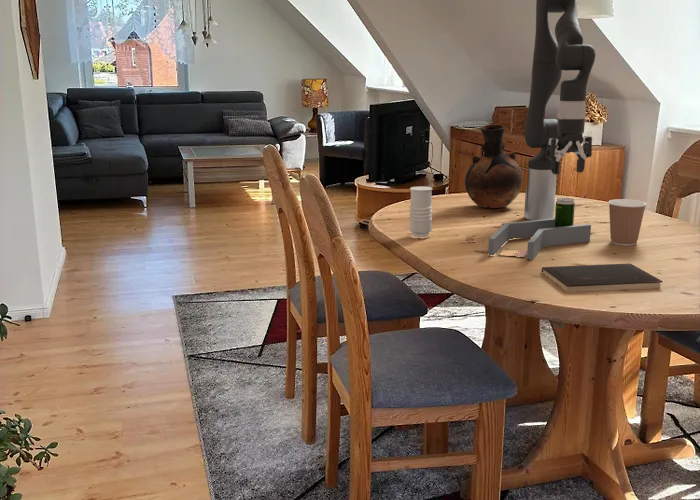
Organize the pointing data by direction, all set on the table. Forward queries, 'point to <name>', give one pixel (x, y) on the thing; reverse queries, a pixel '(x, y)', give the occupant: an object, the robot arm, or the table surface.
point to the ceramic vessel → (493, 172)
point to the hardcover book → (601, 277)
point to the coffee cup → (625, 220)
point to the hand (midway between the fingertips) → (567, 173)
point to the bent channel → (539, 235)
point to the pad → (521, 253)
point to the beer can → (564, 212)
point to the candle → (420, 211)
